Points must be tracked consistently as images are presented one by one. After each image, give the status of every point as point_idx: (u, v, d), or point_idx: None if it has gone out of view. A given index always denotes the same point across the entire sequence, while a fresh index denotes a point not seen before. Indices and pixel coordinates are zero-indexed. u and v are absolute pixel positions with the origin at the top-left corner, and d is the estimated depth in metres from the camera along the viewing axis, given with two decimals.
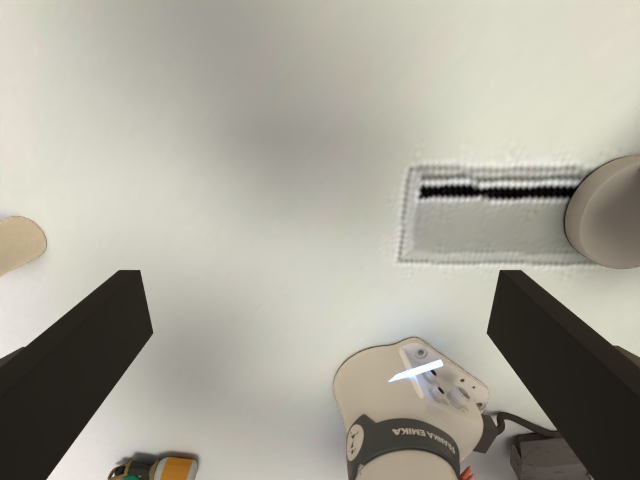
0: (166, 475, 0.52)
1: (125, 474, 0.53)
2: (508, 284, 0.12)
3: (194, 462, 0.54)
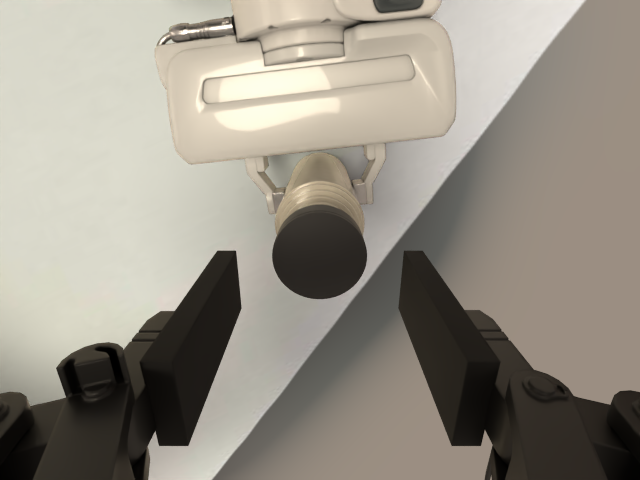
0: None
1: None
2: (407, 262, 0.13)
3: None
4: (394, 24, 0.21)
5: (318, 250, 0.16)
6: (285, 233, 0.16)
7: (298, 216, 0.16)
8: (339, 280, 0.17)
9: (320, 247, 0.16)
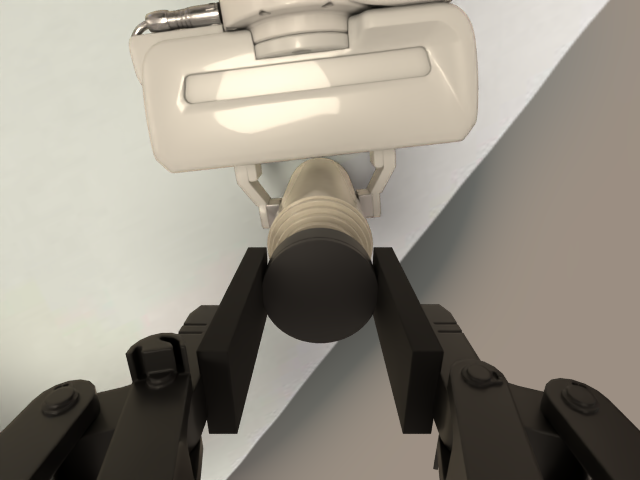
0: None
1: None
2: (376, 258, 0.14)
3: None
4: (408, 10, 0.18)
5: (318, 285, 0.13)
6: (277, 265, 0.13)
7: (293, 244, 0.13)
8: (344, 321, 0.14)
9: (321, 282, 0.13)
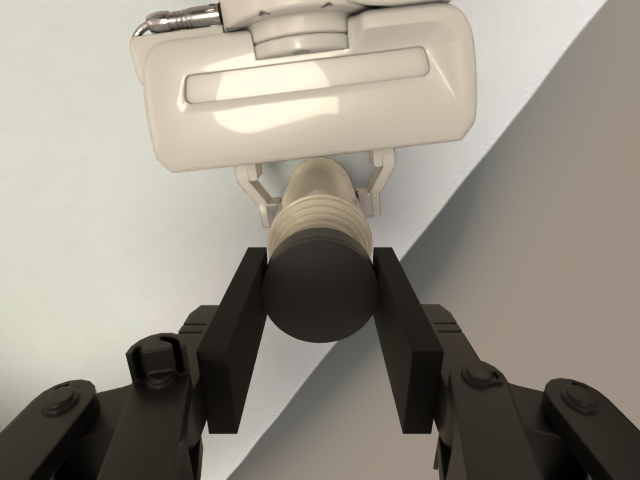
0: None
1: None
2: (375, 258, 0.14)
3: None
4: (407, 10, 0.18)
5: (315, 303, 0.14)
6: (334, 336, 0.14)
7: None
8: (316, 258, 0.13)
9: (310, 304, 0.14)
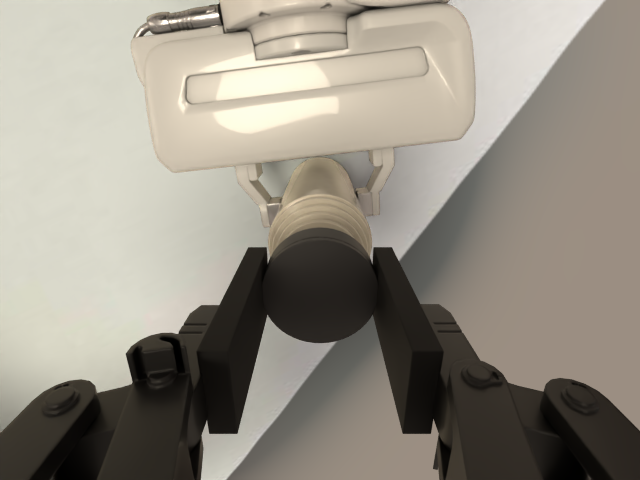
0: None
1: None
2: (375, 258, 0.14)
3: None
4: (405, 10, 0.18)
5: (329, 290, 0.13)
6: (337, 248, 0.13)
7: (362, 254, 0.13)
8: (300, 324, 0.14)
9: (334, 291, 0.13)
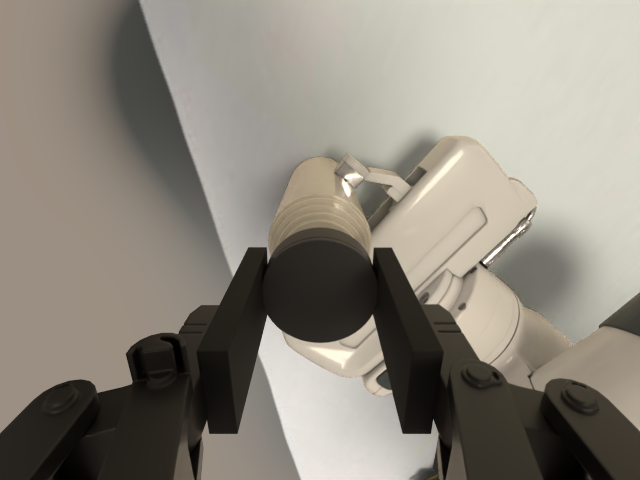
0: None
1: None
2: (375, 258, 0.14)
3: None
4: (382, 359, 0.27)
5: (329, 290, 0.13)
6: (337, 248, 0.13)
7: (362, 255, 0.13)
8: (300, 323, 0.14)
9: (334, 291, 0.13)
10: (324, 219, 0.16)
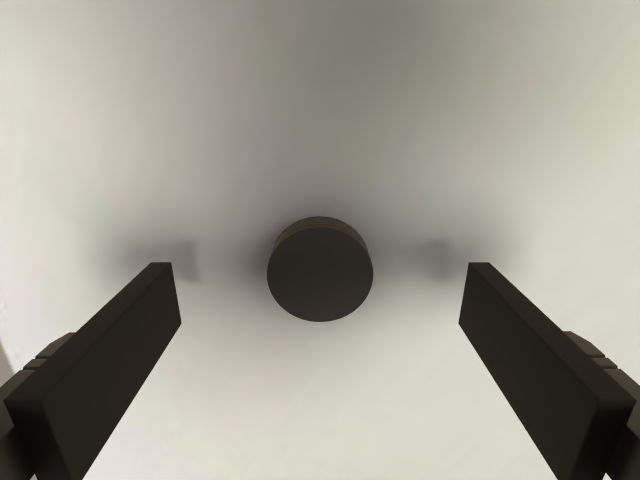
0: None
1: None
2: (475, 275, 0.12)
3: None
4: None
5: (328, 273, 0.15)
6: (335, 234, 0.14)
7: (358, 240, 0.14)
8: (302, 304, 0.15)
9: (332, 274, 0.15)
10: None
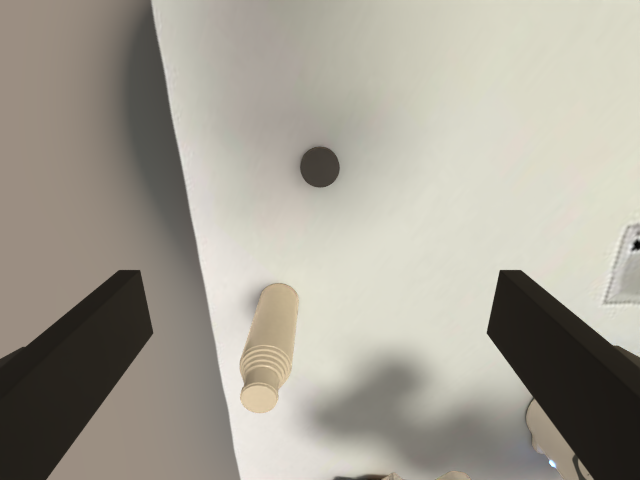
0: None
1: None
2: (508, 284, 0.12)
3: None
4: None
5: (323, 166, 0.40)
6: (325, 151, 0.40)
7: (333, 153, 0.40)
8: (313, 179, 0.41)
9: (324, 166, 0.40)
10: (267, 363, 0.34)
